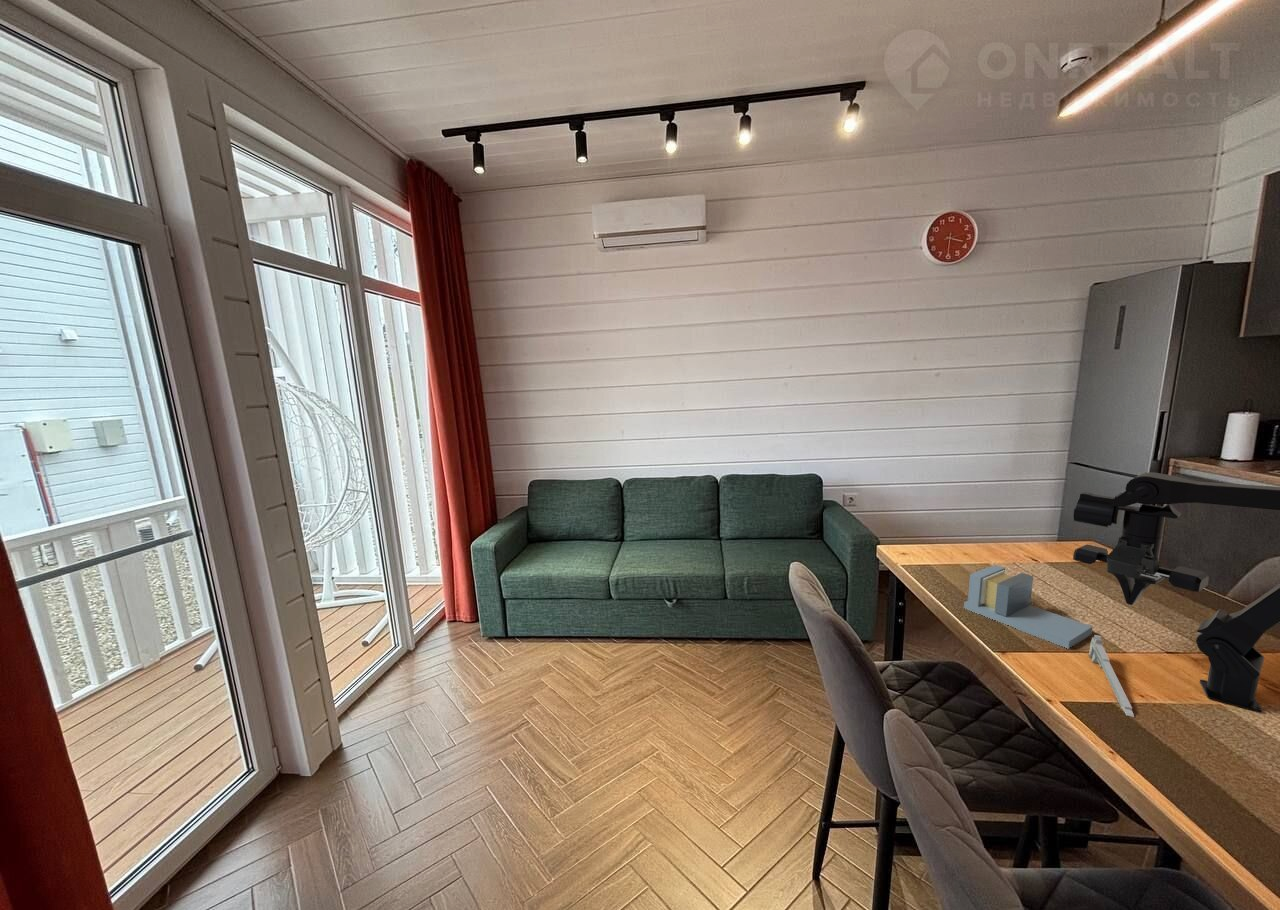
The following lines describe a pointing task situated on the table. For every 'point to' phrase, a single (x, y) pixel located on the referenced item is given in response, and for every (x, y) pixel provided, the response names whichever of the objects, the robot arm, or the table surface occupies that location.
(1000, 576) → the pale yellow wooden block
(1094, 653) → the caliper
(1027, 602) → the sliding jaw
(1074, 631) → the vise
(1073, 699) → the table surface
